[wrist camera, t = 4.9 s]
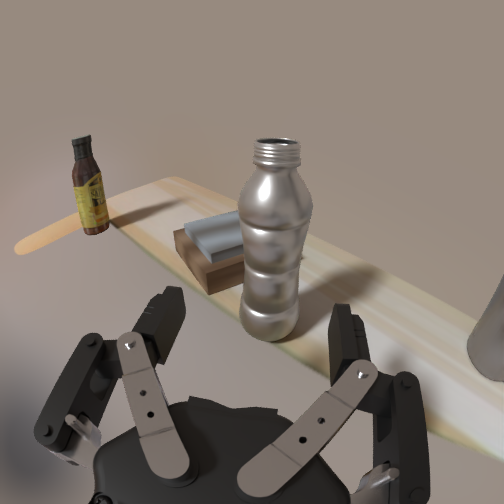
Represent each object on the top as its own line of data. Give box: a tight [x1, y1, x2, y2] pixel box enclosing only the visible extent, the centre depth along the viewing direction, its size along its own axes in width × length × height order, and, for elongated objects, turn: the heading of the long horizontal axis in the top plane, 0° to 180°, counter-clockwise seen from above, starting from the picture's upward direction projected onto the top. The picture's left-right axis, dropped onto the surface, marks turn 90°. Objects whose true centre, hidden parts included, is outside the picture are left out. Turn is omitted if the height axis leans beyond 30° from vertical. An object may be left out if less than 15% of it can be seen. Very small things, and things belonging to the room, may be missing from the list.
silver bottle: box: [238, 138, 313, 341], centre depth 26 cm, size 6×7×20 cm
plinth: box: [173, 210, 245, 295], centre depth 42 cm, size 13×13×5 cm
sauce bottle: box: [72, 135, 109, 235], centre depth 46 cm, size 6×6×20 cm
